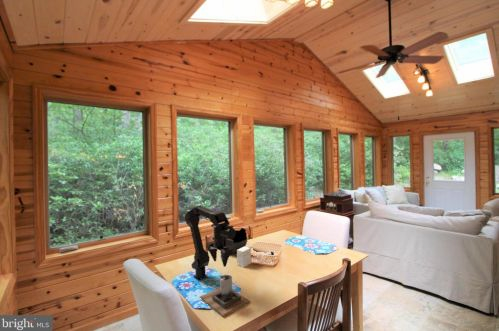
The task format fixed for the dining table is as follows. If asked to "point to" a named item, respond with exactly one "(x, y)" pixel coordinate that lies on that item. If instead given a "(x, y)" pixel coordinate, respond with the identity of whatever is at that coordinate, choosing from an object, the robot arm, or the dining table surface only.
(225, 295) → the steel hub
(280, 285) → the dining table surface
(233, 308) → the walnut board
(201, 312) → the dining table surface
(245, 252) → the small box
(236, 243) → the coal bowl
